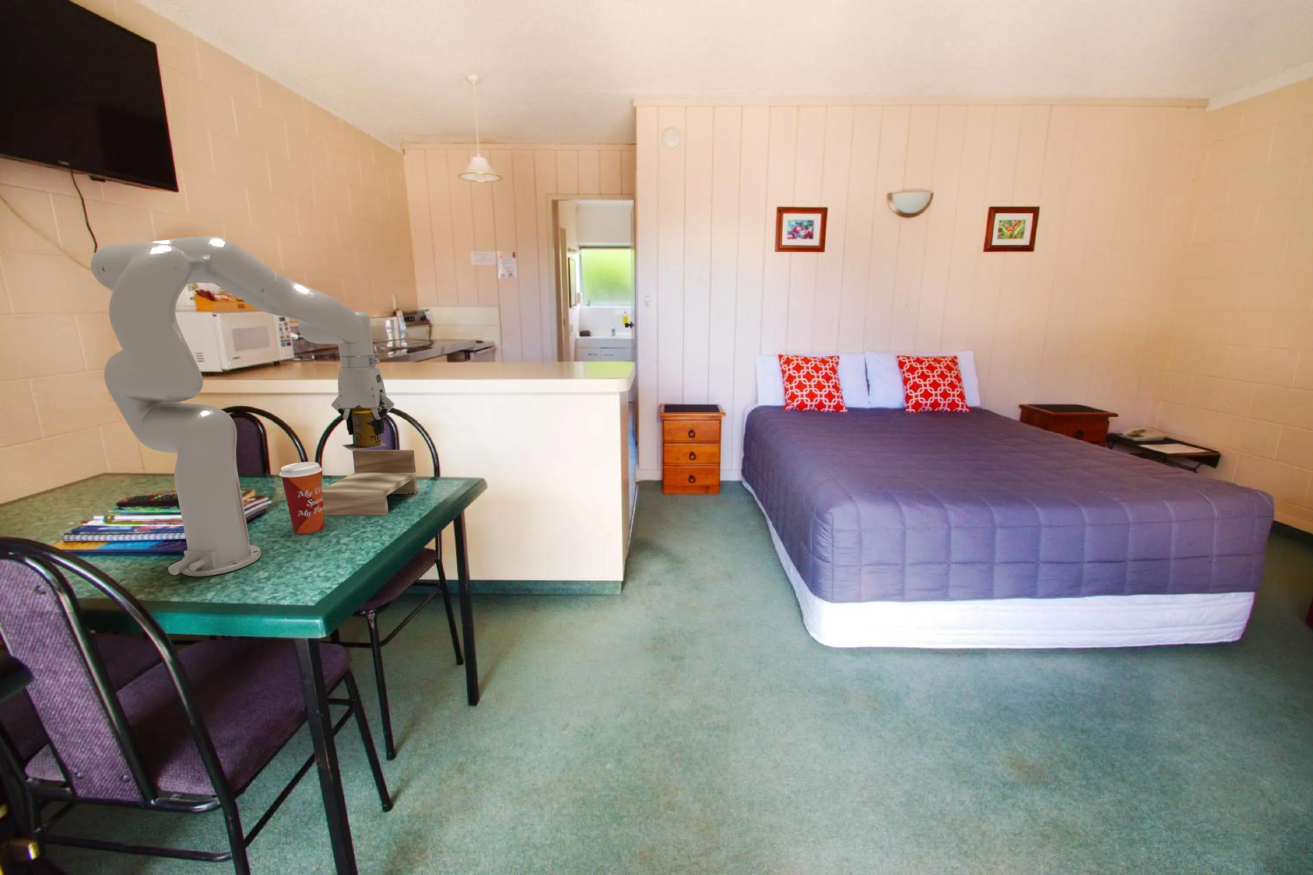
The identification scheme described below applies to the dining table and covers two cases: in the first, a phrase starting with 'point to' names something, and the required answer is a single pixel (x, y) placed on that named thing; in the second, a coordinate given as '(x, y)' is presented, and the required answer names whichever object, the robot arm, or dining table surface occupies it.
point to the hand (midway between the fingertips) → (366, 433)
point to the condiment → (364, 430)
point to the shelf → (371, 483)
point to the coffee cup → (304, 496)
